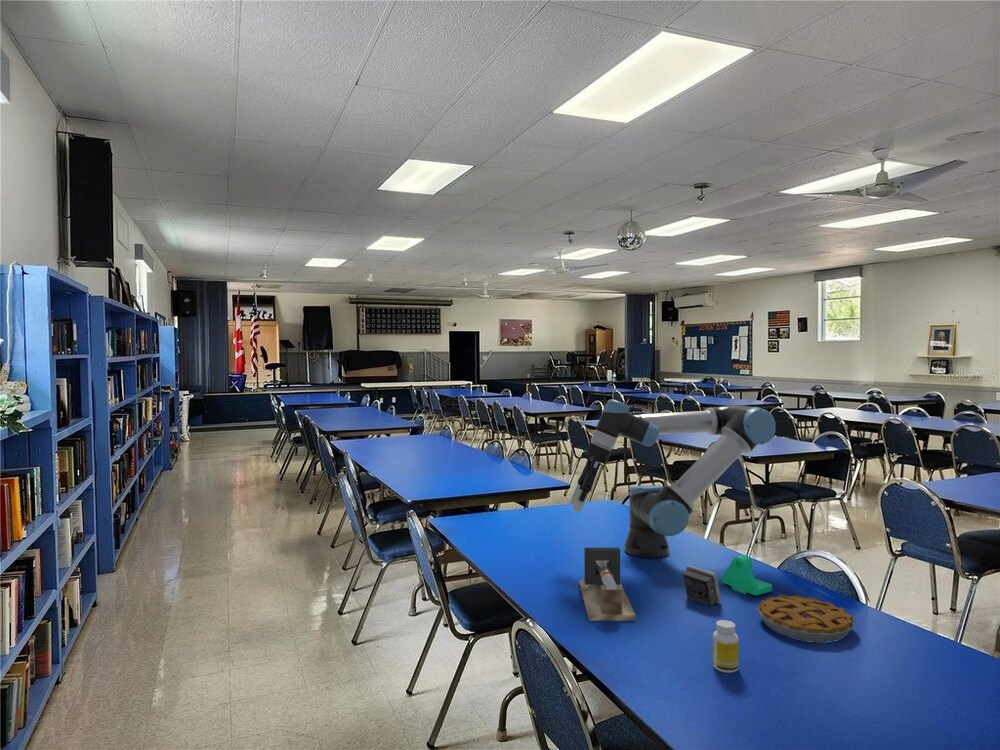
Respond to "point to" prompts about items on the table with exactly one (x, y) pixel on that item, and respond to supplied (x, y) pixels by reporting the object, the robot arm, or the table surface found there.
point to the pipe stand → (606, 603)
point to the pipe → (606, 576)
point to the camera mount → (744, 577)
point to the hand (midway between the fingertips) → (574, 507)
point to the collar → (601, 555)
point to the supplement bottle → (725, 647)
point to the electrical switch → (701, 585)
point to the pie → (805, 618)
